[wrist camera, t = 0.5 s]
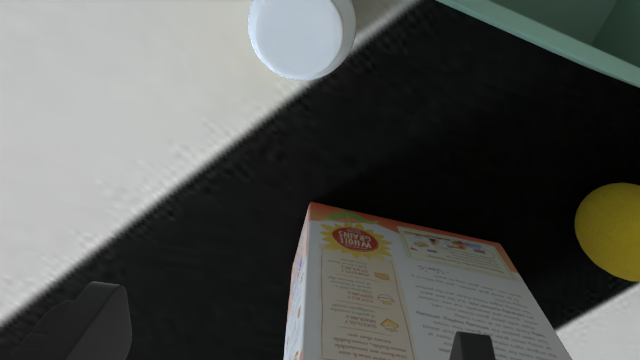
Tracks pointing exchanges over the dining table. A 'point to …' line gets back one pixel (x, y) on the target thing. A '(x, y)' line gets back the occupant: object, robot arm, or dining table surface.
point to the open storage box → (571, 29)
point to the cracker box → (405, 293)
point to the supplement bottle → (302, 35)
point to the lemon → (612, 229)
